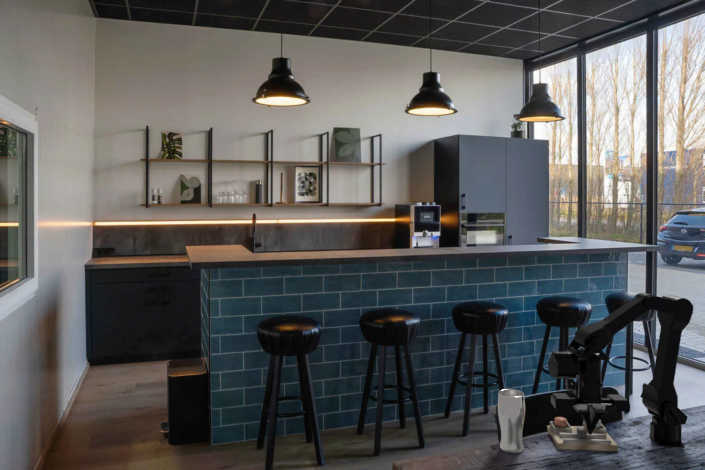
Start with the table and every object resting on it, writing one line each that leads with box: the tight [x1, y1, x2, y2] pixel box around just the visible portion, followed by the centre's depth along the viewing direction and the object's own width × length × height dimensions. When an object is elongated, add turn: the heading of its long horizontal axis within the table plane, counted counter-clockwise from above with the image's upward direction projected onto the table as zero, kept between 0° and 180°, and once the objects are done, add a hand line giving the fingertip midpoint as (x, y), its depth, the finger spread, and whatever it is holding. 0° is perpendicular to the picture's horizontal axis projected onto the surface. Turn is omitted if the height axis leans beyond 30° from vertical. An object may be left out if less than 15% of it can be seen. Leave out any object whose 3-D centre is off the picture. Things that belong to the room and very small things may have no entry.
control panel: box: [546, 420, 619, 452], centre depth 147 cm, size 15×12×3 cm
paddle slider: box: [577, 427, 587, 439], centre depth 143 cm, size 2×2×3 cm
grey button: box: [595, 419, 602, 428], centre depth 149 cm, size 3×3×2 cm
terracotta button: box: [554, 416, 568, 427], centre depth 150 cm, size 3×3×2 cm
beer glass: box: [497, 388, 526, 454], centre depth 142 cm, size 7×7×15 cm
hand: (589, 433), depth 143 cm, fingers closed
